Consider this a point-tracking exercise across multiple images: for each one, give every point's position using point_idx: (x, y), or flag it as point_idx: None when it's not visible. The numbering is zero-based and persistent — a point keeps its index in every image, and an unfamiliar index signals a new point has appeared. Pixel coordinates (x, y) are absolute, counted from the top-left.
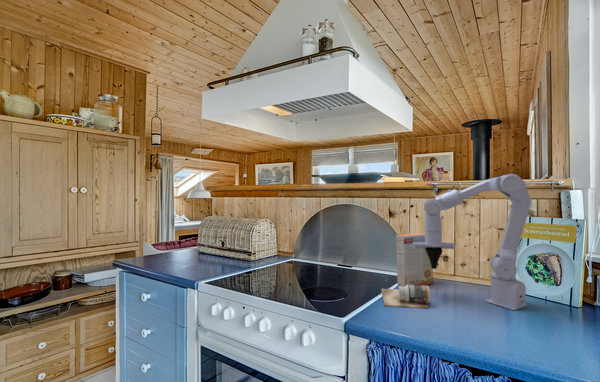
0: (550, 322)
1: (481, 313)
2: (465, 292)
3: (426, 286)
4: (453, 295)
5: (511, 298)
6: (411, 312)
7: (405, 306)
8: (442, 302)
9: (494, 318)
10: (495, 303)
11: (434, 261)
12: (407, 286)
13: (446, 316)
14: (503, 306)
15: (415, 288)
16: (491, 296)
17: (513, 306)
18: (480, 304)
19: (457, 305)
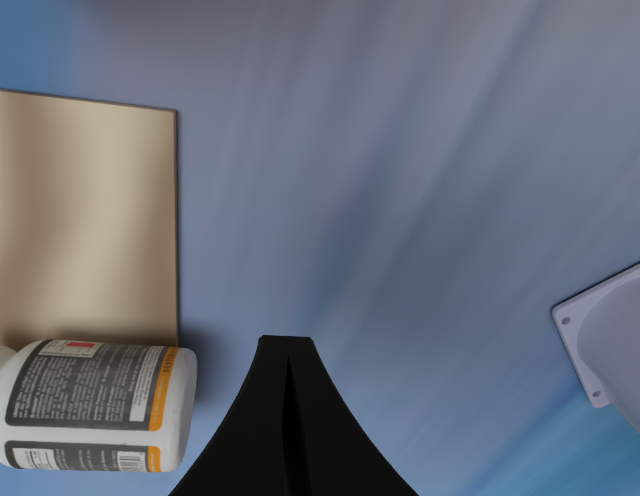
0: (618, 481)
1: (419, 440)
2: (563, 118)
3: (156, 465)
4: (428, 196)
5: (637, 429)
6: None
7: None
8: (291, 330)
9: (439, 475)
10: (570, 353)
11: (288, 466)
12: (3, 462)
13: None
14: (579, 378)
15: (72, 469)
16: (602, 334)
17: (611, 402)
18: (494, 341)
19: (358, 364)
